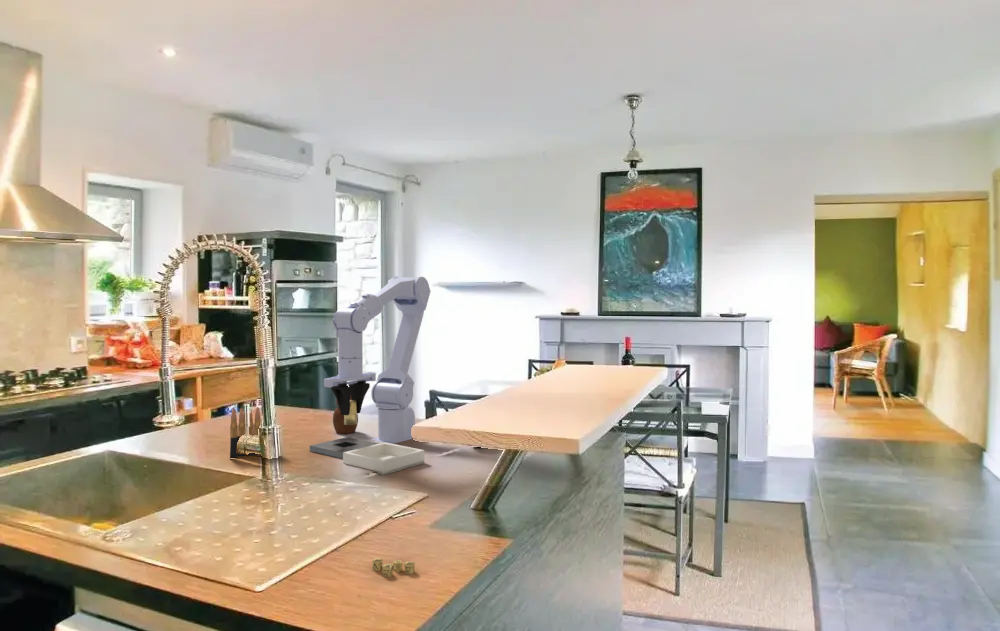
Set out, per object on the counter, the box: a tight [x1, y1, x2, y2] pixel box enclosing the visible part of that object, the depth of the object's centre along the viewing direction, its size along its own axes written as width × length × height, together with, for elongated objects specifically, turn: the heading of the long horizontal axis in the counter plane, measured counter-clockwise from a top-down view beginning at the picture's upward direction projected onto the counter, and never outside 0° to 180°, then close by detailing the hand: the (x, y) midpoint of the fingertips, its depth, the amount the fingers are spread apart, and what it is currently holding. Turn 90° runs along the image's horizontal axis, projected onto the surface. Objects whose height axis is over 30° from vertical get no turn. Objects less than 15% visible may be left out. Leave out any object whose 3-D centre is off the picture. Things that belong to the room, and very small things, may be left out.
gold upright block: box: [344, 400, 358, 425], centre depth 172 cm, size 3×3×6 cm
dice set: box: [371, 557, 415, 578], centre depth 104 cm, size 5×5×2 cm
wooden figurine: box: [332, 384, 359, 435], centre depth 194 cm, size 7×6×15 cm
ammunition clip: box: [229, 406, 277, 459], centre depth 169 cm, size 11×2×12 cm, turn 107°
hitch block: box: [309, 436, 381, 460], centre depth 174 cm, size 12×12×2 cm
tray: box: [342, 442, 425, 476], centre depth 163 cm, size 13×13×3 cm
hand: (350, 413), depth 172 cm, fingers closed on gold upright block, 3 cm apart
